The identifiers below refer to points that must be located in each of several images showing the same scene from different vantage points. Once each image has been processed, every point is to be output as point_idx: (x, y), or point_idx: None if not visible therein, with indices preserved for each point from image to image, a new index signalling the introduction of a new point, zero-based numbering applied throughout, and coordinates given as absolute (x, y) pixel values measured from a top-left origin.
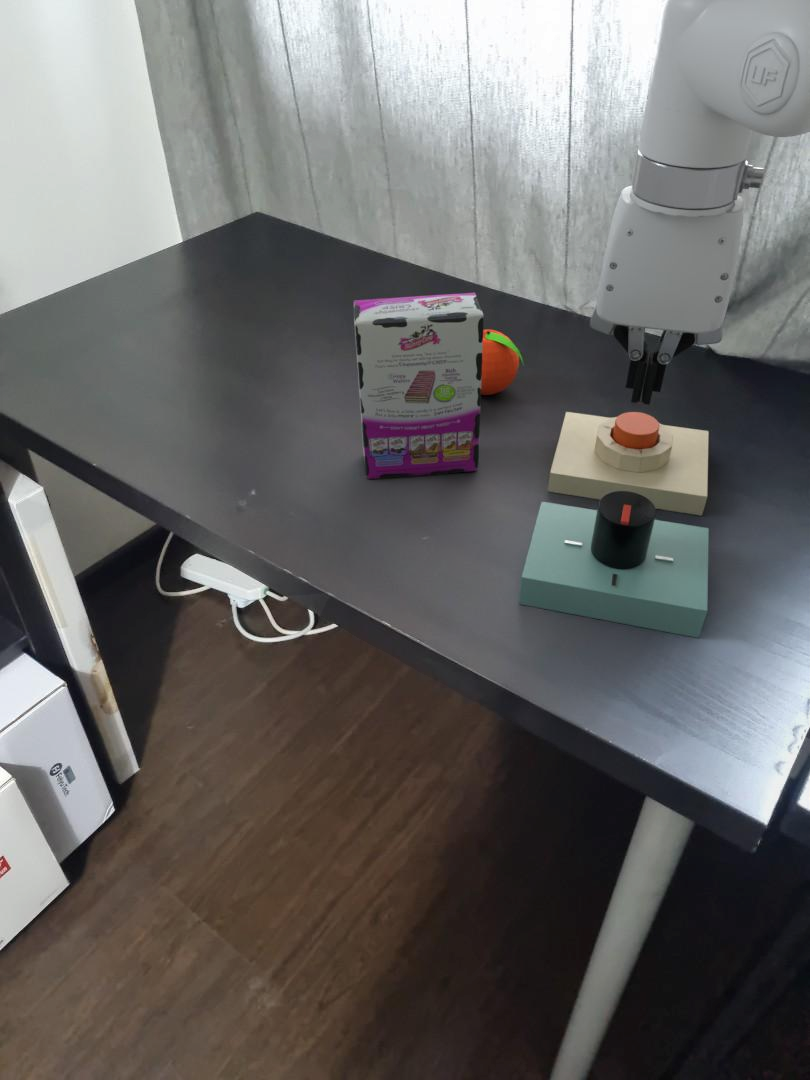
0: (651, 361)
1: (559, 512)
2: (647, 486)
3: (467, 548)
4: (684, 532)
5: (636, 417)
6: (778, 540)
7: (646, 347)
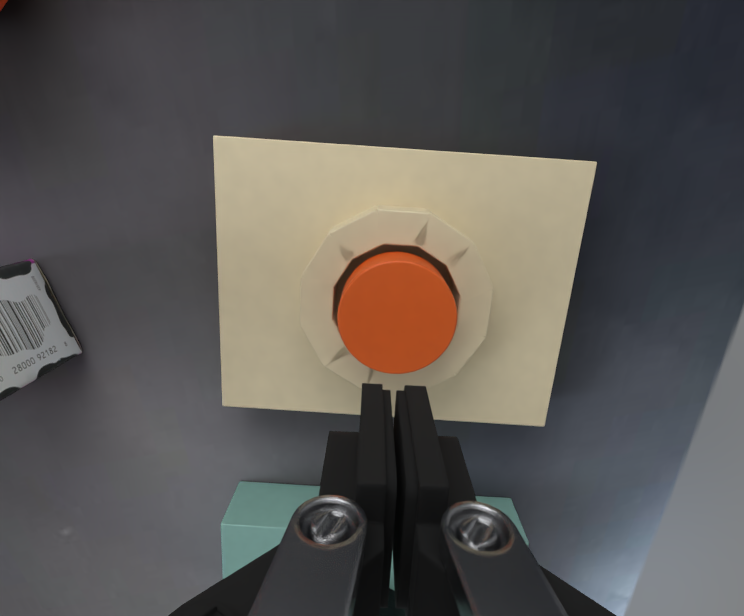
0: (405, 591)
1: (258, 547)
2: None
3: (139, 541)
4: None
5: (394, 291)
6: (652, 440)
7: (377, 587)
